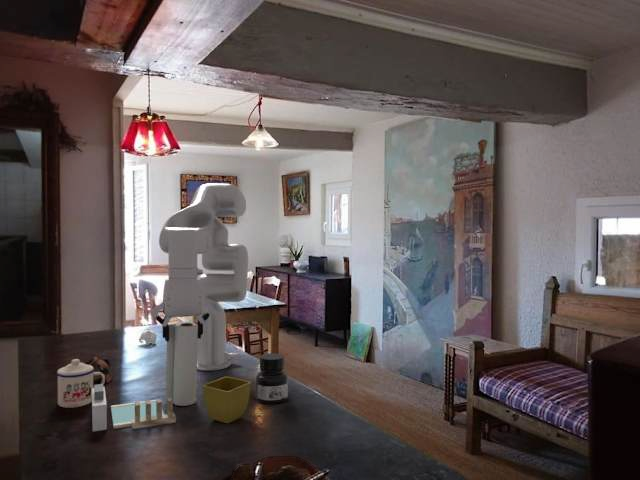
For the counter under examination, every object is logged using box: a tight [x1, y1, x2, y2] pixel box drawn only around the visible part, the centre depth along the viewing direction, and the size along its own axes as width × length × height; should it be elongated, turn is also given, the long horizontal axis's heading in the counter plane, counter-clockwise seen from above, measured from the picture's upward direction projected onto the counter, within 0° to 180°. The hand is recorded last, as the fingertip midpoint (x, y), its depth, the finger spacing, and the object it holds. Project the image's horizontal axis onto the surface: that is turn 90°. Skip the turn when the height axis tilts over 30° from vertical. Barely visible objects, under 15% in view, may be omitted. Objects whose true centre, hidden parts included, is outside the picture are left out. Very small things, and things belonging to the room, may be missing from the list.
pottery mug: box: [83, 356, 113, 384], centre depth 155 cm, size 12×10×8 cm
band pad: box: [110, 399, 165, 430], centre depth 128 cm, size 12×14×1 cm
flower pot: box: [201, 376, 252, 424], centre depth 125 cm, size 9×9×9 cm
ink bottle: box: [255, 353, 289, 405], centre depth 139 cm, size 10×9×12 cm
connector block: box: [91, 383, 108, 433], centre depth 124 cm, size 3×14×8 cm, turn 25°
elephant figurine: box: [138, 327, 160, 346], centre depth 202 cm, size 7×8×6 cm
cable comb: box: [131, 398, 177, 430], centre depth 122 cm, size 10×2×6 cm, turn 115°
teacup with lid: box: [56, 358, 106, 409], centre depth 136 cm, size 12×9×12 cm
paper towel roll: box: [164, 322, 198, 407], centre depth 136 cm, size 7×6×21 cm
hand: (182, 338), depth 136 cm, fingers closed on paper towel roll, 7 cm apart
